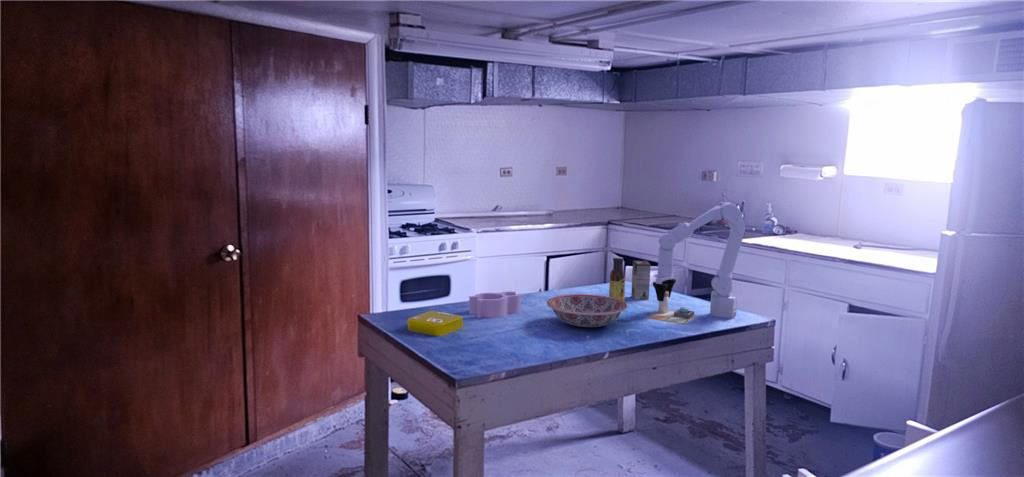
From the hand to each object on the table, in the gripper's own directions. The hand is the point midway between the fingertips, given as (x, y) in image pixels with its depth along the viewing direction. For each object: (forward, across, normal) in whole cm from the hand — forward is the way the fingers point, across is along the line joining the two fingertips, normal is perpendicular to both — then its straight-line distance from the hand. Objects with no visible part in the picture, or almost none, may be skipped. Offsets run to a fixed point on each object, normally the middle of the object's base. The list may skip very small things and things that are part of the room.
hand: (663, 299), depth 256 cm
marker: (+5, 0, 0) cm, 5 cm away
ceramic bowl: (+6, +30, -18) cm, 36 cm away
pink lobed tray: (+7, +35, -54) cm, 65 cm away
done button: (+5, +1, +9) cm, 10 cm away
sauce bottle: (+6, -2, -20) cm, 22 cm away
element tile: (+7, +65, -60) cm, 89 cm away
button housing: (+5, +1, +9) cm, 10 cm away
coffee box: (+6, -18, -16) cm, 26 cm away
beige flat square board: (+6, +5, +5) cm, 9 cm away
